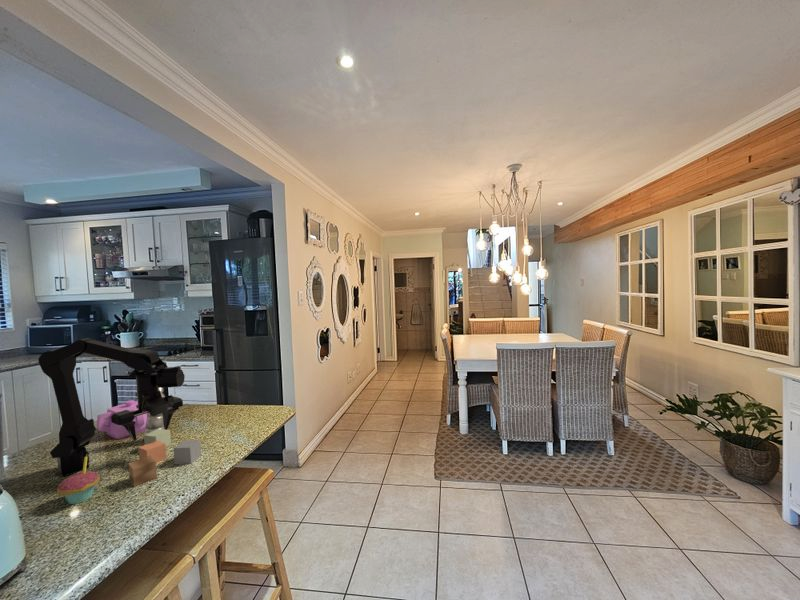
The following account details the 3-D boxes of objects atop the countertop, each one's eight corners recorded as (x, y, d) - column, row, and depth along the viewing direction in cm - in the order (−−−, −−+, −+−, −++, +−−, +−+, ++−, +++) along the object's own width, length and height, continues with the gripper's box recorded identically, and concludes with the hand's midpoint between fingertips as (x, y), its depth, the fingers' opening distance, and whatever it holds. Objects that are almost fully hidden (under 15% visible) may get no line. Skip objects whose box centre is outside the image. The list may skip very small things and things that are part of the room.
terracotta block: (147, 467, 110) (146, 450, 109) (139, 463, 112) (138, 447, 112) (166, 459, 114) (165, 443, 114) (158, 455, 117) (157, 440, 117)
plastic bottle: (146, 444, 125) (151, 390, 125) (140, 439, 129) (144, 386, 129) (166, 439, 130) (170, 387, 130) (159, 434, 134) (163, 384, 134)
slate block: (191, 463, 111) (190, 447, 111) (174, 464, 111) (173, 448, 111) (201, 455, 116) (200, 439, 116) (185, 456, 116) (184, 440, 116)
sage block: (156, 451, 120) (155, 436, 120) (144, 450, 122) (143, 435, 121) (170, 444, 126) (169, 429, 125) (159, 443, 127) (158, 428, 127)
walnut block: (134, 487, 99) (133, 469, 98) (129, 480, 102) (128, 463, 102) (156, 478, 103) (155, 461, 102) (151, 472, 106) (150, 455, 106)
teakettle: (94, 442, 129) (91, 410, 129) (118, 425, 146) (116, 396, 145) (145, 436, 134) (143, 405, 133) (163, 419, 150) (162, 392, 150)
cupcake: (97, 486, 100) (94, 446, 99) (104, 496, 94) (100, 454, 94) (56, 501, 93) (52, 458, 92) (60, 513, 88) (56, 468, 87)
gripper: (125, 401, 100) (128, 452, 101) (190, 384, 116) (193, 428, 117) (108, 396, 106) (112, 445, 106) (173, 380, 122) (175, 423, 123)
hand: (150, 435), depth 113 cm, fingers open, 9 cm apart
